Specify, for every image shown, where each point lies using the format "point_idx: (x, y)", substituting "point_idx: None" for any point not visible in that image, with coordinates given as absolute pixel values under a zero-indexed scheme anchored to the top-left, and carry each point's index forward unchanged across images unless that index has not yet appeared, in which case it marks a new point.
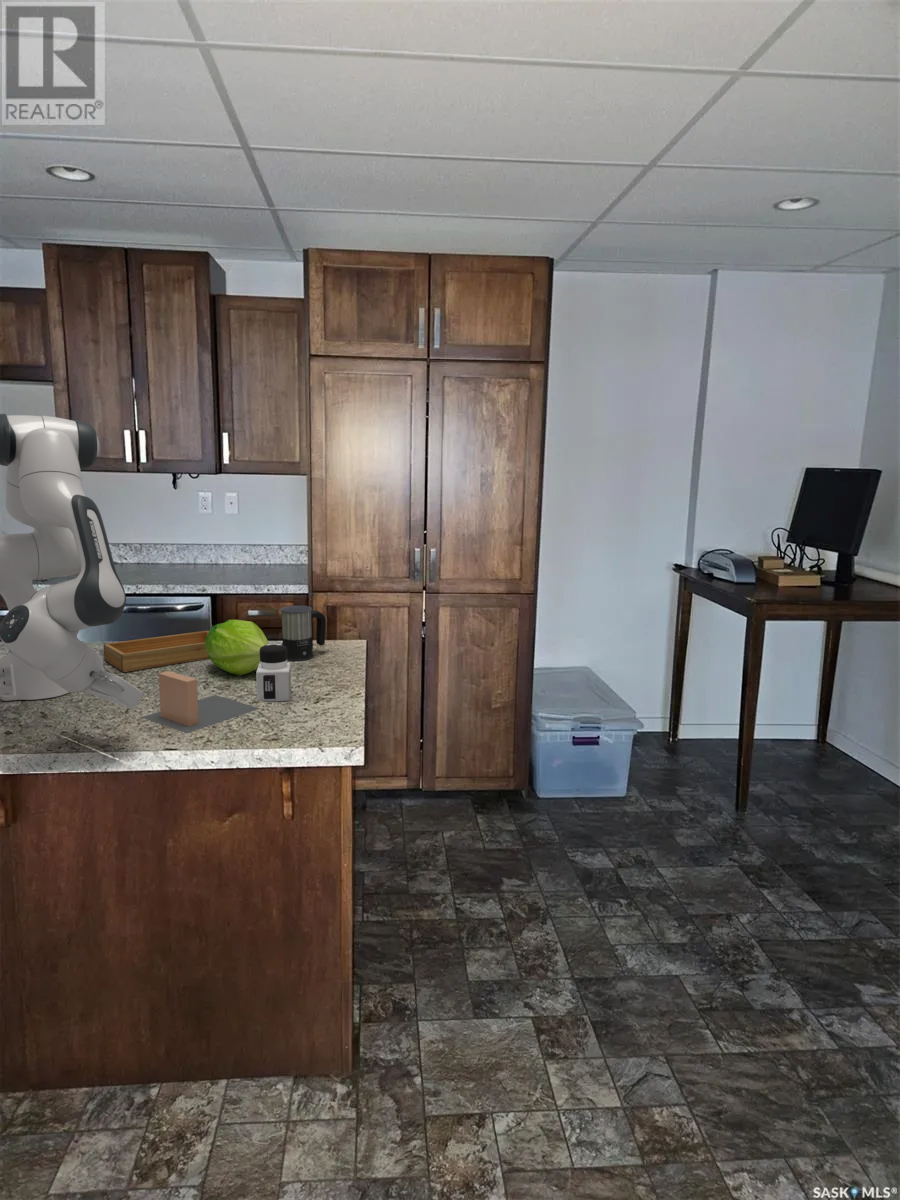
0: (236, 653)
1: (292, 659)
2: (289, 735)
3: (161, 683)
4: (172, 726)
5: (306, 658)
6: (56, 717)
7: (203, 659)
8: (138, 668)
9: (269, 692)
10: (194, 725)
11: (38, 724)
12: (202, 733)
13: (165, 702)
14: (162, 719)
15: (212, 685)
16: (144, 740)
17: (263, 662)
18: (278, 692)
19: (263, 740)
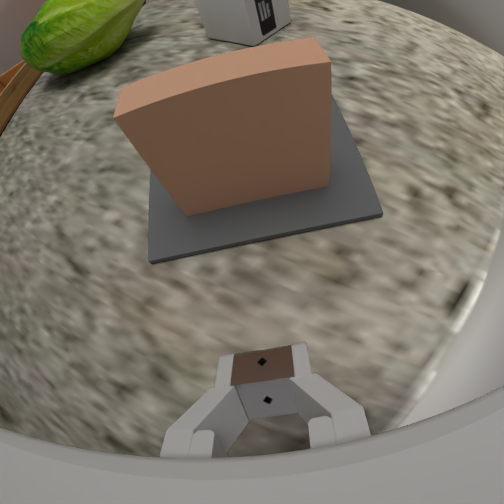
0: (104, 19)
1: None
2: (472, 84)
3: (149, 139)
4: (297, 221)
5: (144, 2)
6: (17, 405)
7: (26, 93)
8: None
9: (267, 20)
10: (332, 172)
11: None
12: (388, 179)
13: (196, 179)
14: (213, 221)
15: (105, 87)
16: (340, 336)
17: None
18: (278, 14)
19: (484, 119)
